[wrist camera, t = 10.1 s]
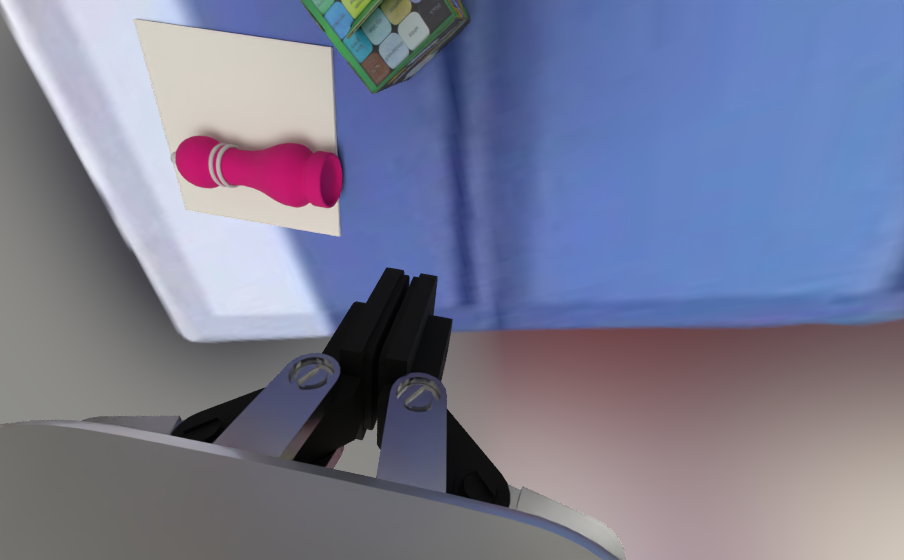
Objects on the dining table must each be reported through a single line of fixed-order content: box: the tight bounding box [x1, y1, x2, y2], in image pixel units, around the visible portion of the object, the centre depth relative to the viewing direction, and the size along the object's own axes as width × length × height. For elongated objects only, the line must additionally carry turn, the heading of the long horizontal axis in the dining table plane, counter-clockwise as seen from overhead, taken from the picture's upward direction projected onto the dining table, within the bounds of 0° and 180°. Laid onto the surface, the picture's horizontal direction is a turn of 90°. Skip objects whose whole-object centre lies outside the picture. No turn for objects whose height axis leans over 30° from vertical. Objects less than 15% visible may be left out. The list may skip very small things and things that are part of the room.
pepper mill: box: [171, 136, 343, 208], centre depth 45 cm, size 7×7×20 cm
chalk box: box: [300, 0, 470, 94], centre depth 32 cm, size 9×9×15 cm
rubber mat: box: [134, 19, 341, 237], centre depth 47 cm, size 22×22×1 cm
